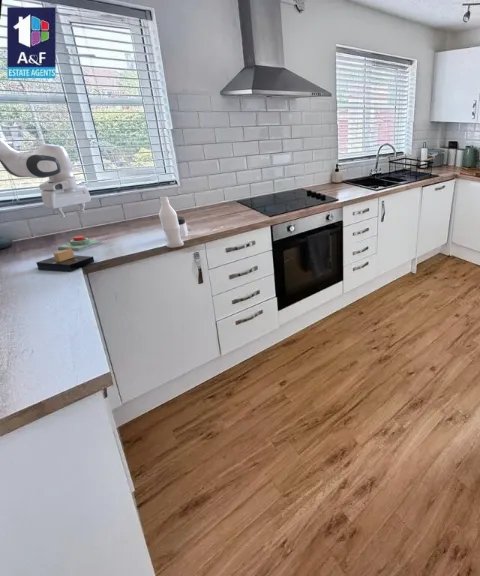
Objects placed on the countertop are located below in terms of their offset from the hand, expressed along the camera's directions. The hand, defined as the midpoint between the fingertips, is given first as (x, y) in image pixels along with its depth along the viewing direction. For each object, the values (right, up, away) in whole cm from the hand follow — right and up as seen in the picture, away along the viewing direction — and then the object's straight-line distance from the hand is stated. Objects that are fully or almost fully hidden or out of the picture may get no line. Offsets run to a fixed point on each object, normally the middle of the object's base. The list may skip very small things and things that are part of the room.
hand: (73, 215), depth 166 cm
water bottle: (+42, -15, +8) cm, 46 cm away
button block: (-1, -14, +6) cm, 15 cm away
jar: (+37, -9, +22) cm, 44 cm away
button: (-1, -11, +5) cm, 12 cm away
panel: (+13, -24, -17) cm, 32 cm away
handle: (+13, -21, -19) cm, 31 cm away
